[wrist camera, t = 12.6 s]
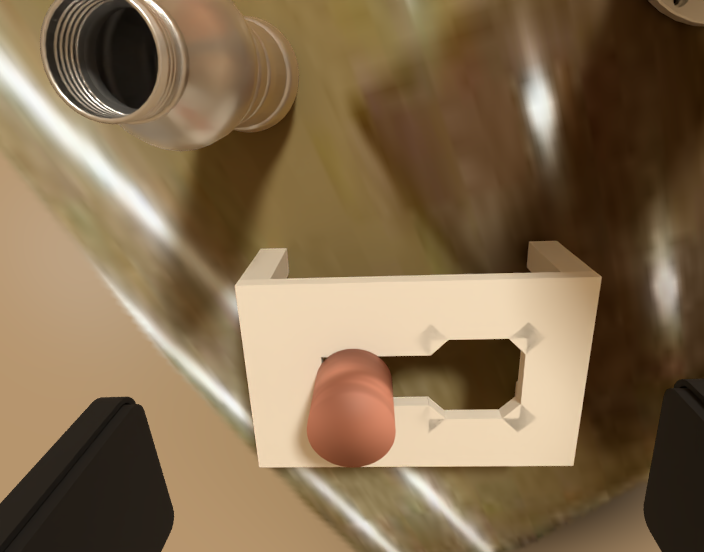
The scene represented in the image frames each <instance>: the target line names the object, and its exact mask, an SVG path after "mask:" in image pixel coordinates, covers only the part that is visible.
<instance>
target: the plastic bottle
mask: <svg viewBox="0 0 704 552" xmlns="http://www.w3.org/2000/svg"><path fill="white" fill-rule="evenodd" d="M40 50H41V58H42V62H43V66H44V70H45V72H46V74H47V77H48V79H49V81H50V83H51V85H52V86H53V88H54V89H55V91H56V93H57V94H58V95H59V96H60V98H61V99H62V100H63V101H64V102H65V103H66V104H67V105H68V106H69V107H71V108H72V109H73V110H74V111H76V112H77V113H79V114H81V115H82V116H84V117H86V118H88V119H91V120H94V121H97V122H101V123H108V124H119V125H120V126H121V127H122V128H124V129H125V130H126V131H127V132H129V133H130V134H132V135H134V136H135V137H137V138H139V139H141V140H143V141H145V142H147V143H149V144H151V145H153V146H156V147H160V148H163V149H166V150H175V151H188V150H196V149H199V148H203V147H206V146H209V145H211V144H213V143H214V142H216V141H218V140H220V139H221V138H223V137H225V136H226V135H228V134H229V133H230V132H231V131H232V130H236V131H239V132H248V133H251V132H259V131H263V130H266V129H269V128H270V127H272V126H274V125H275V124H277V123H278V122H279V121H280V120H282V119H283V118H284V117H285V115H286V114H287V113H288V111H289V110H290V109H291V107H292V105H293V103H294V101H295V98H296V94H297V91H298V85H299V70H298V63H297V60H296V56H295V53H294V51H293V49H292V47H291V45H290V43H289V42H288V40H287V39H286V37H285V36H284V35H283V34H282V33H281V32H280V31H279V30H278V29H277V28H276V27H275V26H273V25H272V24H270V23H268V22H267V21H265V20H262V19H259V18H256V17H249V16H243V15H242V14H241V12H240V11H239V10H238V8H237V7H236V6H235V4H234V3H233V2H232V1H231V0H55V1H54V2H53V4H52V5H51V6H50V8H49V10H48V11H47V13H46V15H45V17H44V21H43V24H42V28H41V36H40Z"/></svg>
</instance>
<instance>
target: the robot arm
mask: <svg viewBox="0 0 704 552" xmlns="http://www.w3.org/2000/svg"><path fill="white" fill-rule="evenodd" d="M648 1H649V2H650V3H651V4H652V5H653V6H654V7H655V8H656V9H657V10H658V11H659V12H661V13H663V14H665V15H666V16H668V17H670V18H672V19H673V20H675V21H678V22H682V23H685V24H689V25H692V26H703V27H704V0H676V3H675V4H674V2H673V0H648ZM644 516H645V521H646V523H647V526H648V528H649V530H650V532H651V534H652V536H653V537H654V539H655V540H656V542H657V544H658V546H659V548H660V549H661V551H662V552H704V379H681V380H679V381H677V382H676V383H675V385H674V388H670V389H667V390H666V392H665V394H664V397H663V403H662V408H661V414H660V419H659V425H658V430H657V436H656V441H655V447H654V452H653V457H652V463H651V468H650V474H649V479H648V485H647V490H646V496H645V502H644ZM173 521H174V511H173V506H172V503H171V500H170V497H169V493H168V490H167V486H166V483H165V479H164V476H163V473H162V469H161V466H160V462H159V459H158V456H157V452H156V449H155V445H154V442H153V439H152V435H151V432H150V429H149V425H148V422H147V418H146V415H145V411H144V409H143V407H142V406H141V405H139V404H136V403H135V401H134V400H133V399H132V398H130V397H105V398H98V399H96V400H95V401H93V402H92V403H91V404H90V406H89V407H88V408H87V409H86V410H85V411H84V412H83V413H82V414H81V415H80V417H79V418H78V419H77V420H76V421H75V422H74V423H73V424H72V425H71V426H70V428H69V429H68V430H67V431H66V432H65V433H64V434H63V435H62V436H61V437H60V439H59V440H58V441H57V442H56V443H55V444H54V445H53V446H52V447H51V448H50V450H49V451H48V452H47V453H46V454H45V455H44V456H43V457H42V458H41V460H39V462H38V463H37V464H36V465H35V466H34V467H33V468H32V469H31V471H30V472H29V473H28V474H27V475H26V476H25V477H24V478H23V479H22V480H21V481H20V482H19V484H18V485H17V486H16V487H15V488H14V489H13V490H12V491H11V492H10V493H9V495H8V496H7V497H6V498H5V499H4V500H3V501H2V502H1V503H0V552H161V551H162V549H163V547H164V545H165V542H166V540H167V538H168V536H169V534H170V532H171V529H172V526H173Z"/></svg>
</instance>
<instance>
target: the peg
mask: <svg viewBox="0 0 704 552" xmlns="http://www.w3.org/2000/svg"><path fill="white" fill-rule="evenodd" d="M395 435H396V429H395V415H394V401H393V387H392V376H391V373H390V370H389V368H388V366H387V365H386V364H385V362H384V361H383V360H382V359H381V358H379V357H378V356H377V355H375V354H373V353H371V352H369V351H366V350H362V349H345V350H341V351H338V352H336V353H333V354H332V355H330V356H329V357H328V358H326V359H325V360H324V361H323V362H322V364H321V365H320V367H319V369H318V372H317V376H316V381H315V386H314V391H313V396H312V402H311V407H310V412H309V417H308V422H307V437H308V440H309V443H310V445H311V446H312V448H313V449H314V451H315V452H316V453H317V454H318V455H319V456H321V457H322V458H323V459H325V460H326V461H328V462H330V463H333V464H335V465H339V466H343V467H362V466H366V465H370V464H372V463H375V462H376V461H378V460H380V459H381V458H383V457H384V456H385V455H386V454H387V453H388V452H389V450H390V449H391V447H392V445H393V443H394V440H395Z"/></svg>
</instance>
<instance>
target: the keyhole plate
mask: <svg viewBox="0 0 704 552" xmlns="http://www.w3.org/2000/svg"><path fill="white" fill-rule="evenodd" d="M527 268H528V269H529V270H530V271H531V273H499V274H458V275H417V276H376V277H335V278H295V279H287V277H288V274H289V266H288V255H287V248H274V249H260V251H259V252H258V253H257V255H256V256H255V258H254V259H253V261H252V262H251V263H250V265H249V266H248V268H247V269H246V270H245V272H244V273H243V275H242V276H241V278H240V279H239V280H238V282H237V283H236V285H235V292H236V299H237V306H238V314H239V321H240V329H241V336H242V343H243V351H244V358H245V366H246V373H247V381H248V388H249V395H250V403H251V410H252V418H253V425H254V432H255V440H256V447H257V455H258V462H259V467H343V466H339V465H335V464H333V463H330V462H328V461H326V460H325V459H323V458H322V457H321V456H319V455H318V454H317V453H316V452H315V451H314V449H313V448H312V446H311V445H310V443H309V440H308V437H307V422H308V417H309V412H310V407H311V402H312V396H313V391H314V386H315V381H316V376H317V372H318V369H319V367H320V365H321V364H322V362H323V357H329V356H330V355H332V354H333V353H336V352H338V351H341V350H345V349H362V350H366V351H369V352H371V353H373V354H375V355H377V356H428V355H430V356H431V355H432V354H433V353H434V352H435V351H436V350H438V349H439V348H440V347H441V346H442V345H443V344H444V343H446V342H447V341H448V340H467V339H510V340H511V341H512V342H513V343H514V344H515V345H516V346H517V347H518V348H519V349H520V350H521V353H520V364H519V374H518V381H516V388H515V397H514V398H512V399H511V400H510V401H509V402H507V403H506V404H505V405H504V406H502V407H501V408H500V409H489V410H443V409H442V408H441V407H440V406H439V405H437V404H436V403H435V402H434V401H433V400H431V399H430V398H429V397H428V396H427V397H393V401H394V415H395V429H396V435H395V440H394V443H393V445H392V447H391V449H390V450H389V452H388V453H387V454H386V455H385V456H384V457H383V458H381V459H380V460H378V461H376V462H375V463H372V464H370V465H366V466H362V467H437V466H573V465H574V458H575V451H576V445H577V438H578V431H579V425H580V418H581V412H582V405H583V398H584V392H585V385H586V378H587V372H588V365H589V359H590V352H591V345H592V339H593V332H594V325H595V319H596V312H597V306H598V299H599V292H600V286H601V279H602V277H601V276H600V275H599V274H597V273H596V272H595V271H594V270H592V269H591V268H590V267H589V266H587V265H586V264H585V263H584V262H582V261H581V260H580V259H579V258H578V257H576V256H575V255H574V254H573V253H571V252H570V251H569V250H568V249H566V248H565V247H564V246H563V245H561V244H560V243H559V242H558V241H529V246H528V257H527Z"/></svg>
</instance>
